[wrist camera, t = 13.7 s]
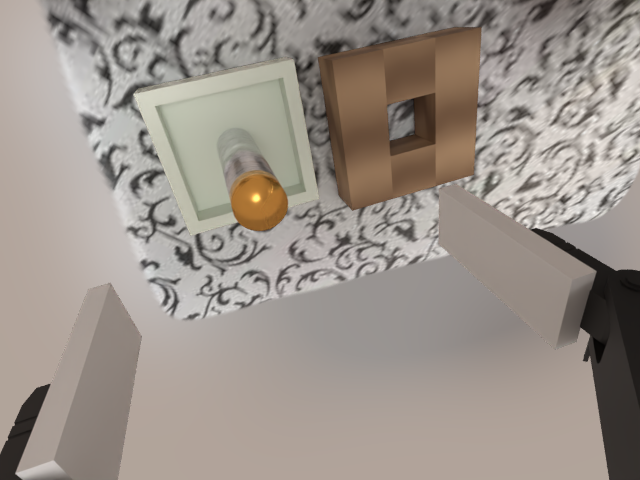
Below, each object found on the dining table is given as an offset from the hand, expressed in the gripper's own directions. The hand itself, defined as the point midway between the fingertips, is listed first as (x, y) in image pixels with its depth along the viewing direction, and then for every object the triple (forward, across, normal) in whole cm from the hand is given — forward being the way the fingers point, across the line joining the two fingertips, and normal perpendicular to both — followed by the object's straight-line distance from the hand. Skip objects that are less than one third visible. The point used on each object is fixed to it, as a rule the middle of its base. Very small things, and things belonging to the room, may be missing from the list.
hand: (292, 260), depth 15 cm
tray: (+19, -1, 0) cm, 19 cm away
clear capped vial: (+18, -1, 0) cm, 18 cm away
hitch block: (+19, +13, -1) cm, 23 cm away
